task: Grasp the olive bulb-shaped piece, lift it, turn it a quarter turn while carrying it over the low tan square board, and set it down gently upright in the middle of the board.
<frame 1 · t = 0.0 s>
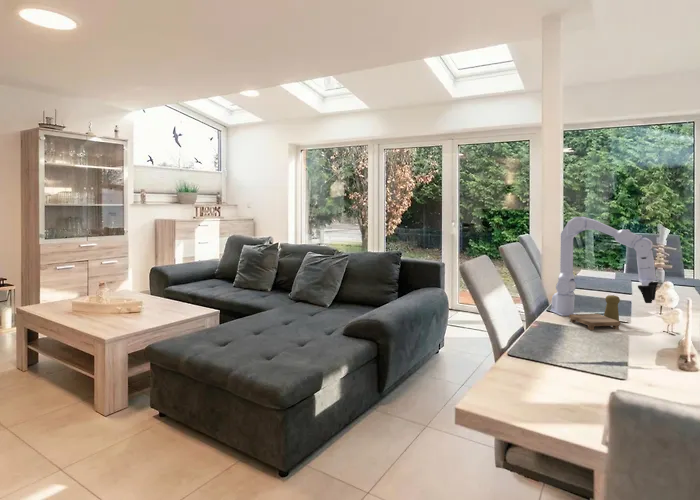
hand: (650, 301, 180), 11 cm above the table, tool pointing down, fingers open, 7 cm apart
olive bulb-shaped piece: (610, 321, 190), on the table
tan square board: (593, 325, 183), on the table
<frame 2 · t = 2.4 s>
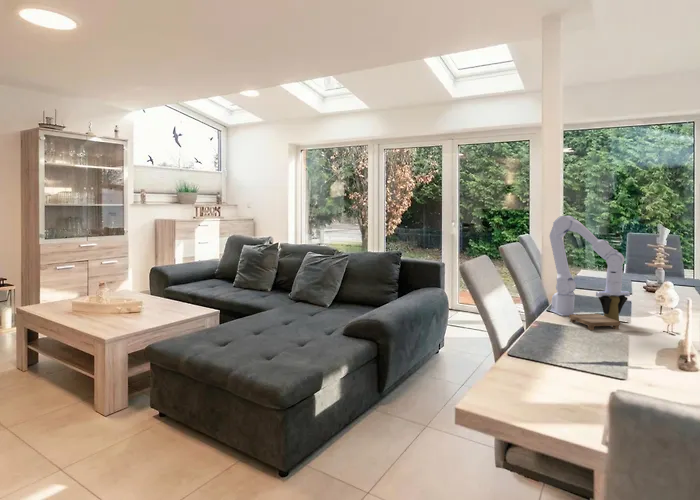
hand: (611, 313, 190), 3 cm above the table, tool pointing down, fingers closed on olive bulb-shaped piece, 5 cm apart
olive bulb-shaped piece: (610, 321, 190), on the table, touching gripper
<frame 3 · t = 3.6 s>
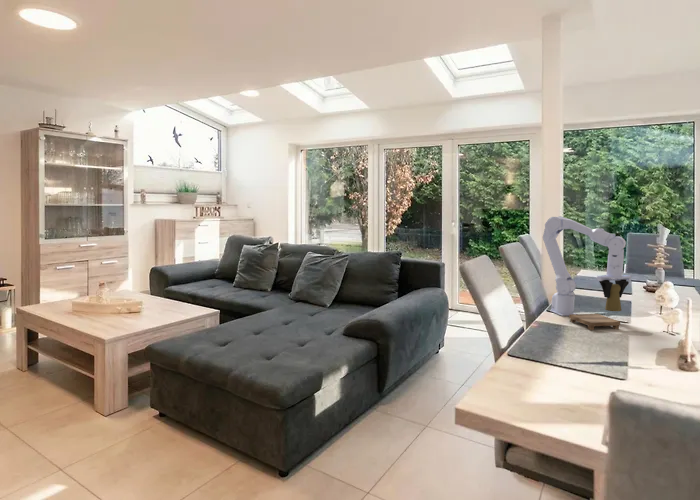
hand: (612, 297, 189), 10 cm above the table, tool pointing down, fingers closed on olive bulb-shaped piece, 5 cm apart
olive bulb-shaped piece: (613, 310, 189), point 5 cm above the table, touching gripper
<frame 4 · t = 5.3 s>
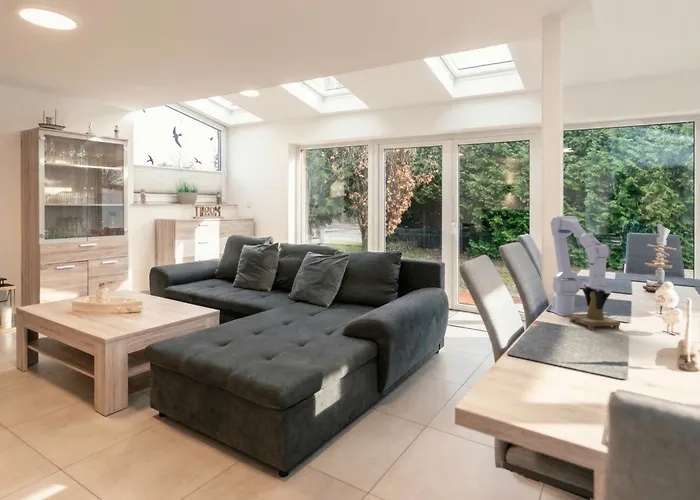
hand: (594, 307, 182), 7 cm above the table, tool pointing down, fingers closed on olive bulb-shaped piece, 5 cm apart
olive bulb-shaped piece: (594, 318, 183), point 3 cm above the table, touching gripper, tan square board
when the fingers open (7 cm above the table, at t = 6.1 s): olive bulb-shaped piece stays where it is, resting on tan square board.
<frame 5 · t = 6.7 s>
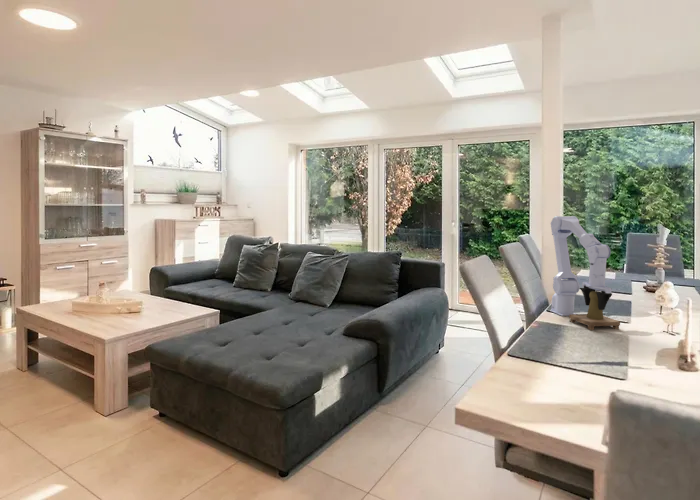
hand: (594, 307, 182), 7 cm above the table, tool pointing down, fingers open, 7 cm apart
olive bulb-shaped piece: (594, 318, 183), point 3 cm above the table, touching tan square board
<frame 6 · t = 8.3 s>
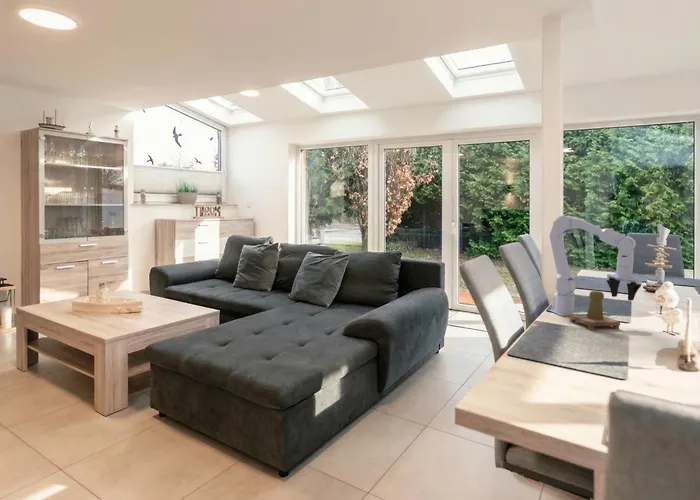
hand: (622, 298, 186), 10 cm above the table, tool pointing down, fingers open, 7 cm apart
nothing on the table moved.
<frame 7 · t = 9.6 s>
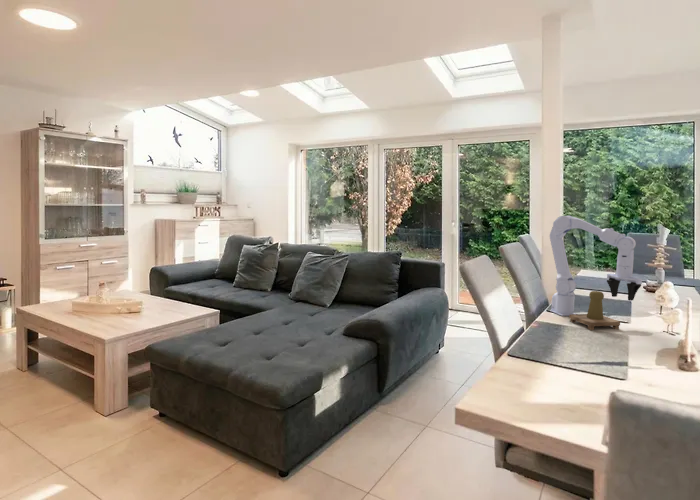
hand: (622, 298, 186), 10 cm above the table, tool pointing down, fingers open, 7 cm apart
nothing on the table moved.
at the end: olive bulb-shaped piece inside the target area on the tan square board (0.5 cm from its centre), point 2.8 cm above the tan square board's base; olive bulb-shaped piece tilted 0°; the gripper is holding nothing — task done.
